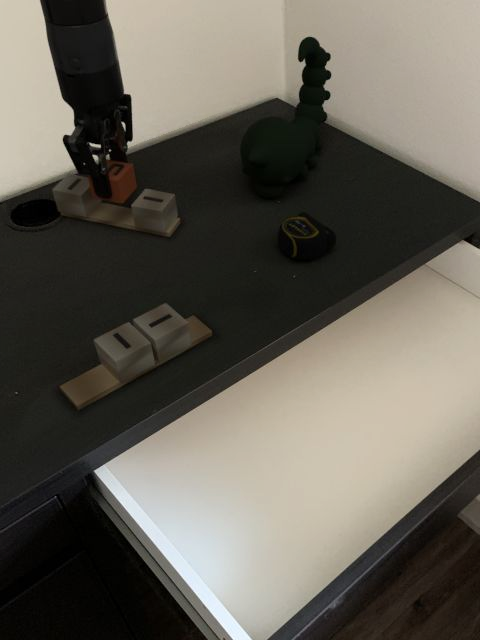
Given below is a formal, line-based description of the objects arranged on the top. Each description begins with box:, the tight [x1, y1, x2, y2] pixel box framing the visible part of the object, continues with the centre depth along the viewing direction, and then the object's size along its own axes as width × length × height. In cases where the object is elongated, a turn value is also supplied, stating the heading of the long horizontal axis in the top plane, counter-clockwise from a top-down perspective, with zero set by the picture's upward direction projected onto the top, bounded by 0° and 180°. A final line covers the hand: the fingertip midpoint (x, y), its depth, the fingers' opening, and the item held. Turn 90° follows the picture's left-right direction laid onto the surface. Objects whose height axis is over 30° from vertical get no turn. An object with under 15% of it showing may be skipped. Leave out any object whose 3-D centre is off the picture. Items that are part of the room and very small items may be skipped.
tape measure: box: [277, 211, 337, 261], centre depth 90 cm, size 7×7×4 cm
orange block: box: [86, 158, 138, 204], centre depth 90 cm, size 4×4×4 cm
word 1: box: [51, 173, 182, 238], centre depth 93 cm, size 17×4×4 cm, turn 73°
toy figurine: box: [239, 36, 332, 200], centre depth 97 cm, size 9×19×25 cm
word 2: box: [59, 302, 213, 411], centre depth 74 cm, size 18×4×4 cm, turn 132°
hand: (113, 186), depth 91 cm, fingers closed on orange block, 4 cm apart
